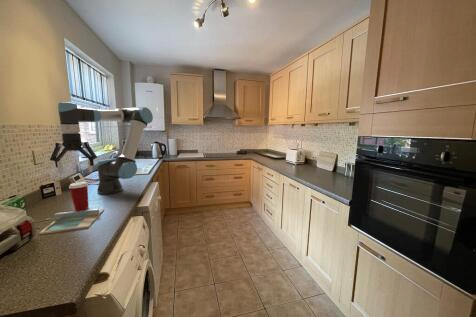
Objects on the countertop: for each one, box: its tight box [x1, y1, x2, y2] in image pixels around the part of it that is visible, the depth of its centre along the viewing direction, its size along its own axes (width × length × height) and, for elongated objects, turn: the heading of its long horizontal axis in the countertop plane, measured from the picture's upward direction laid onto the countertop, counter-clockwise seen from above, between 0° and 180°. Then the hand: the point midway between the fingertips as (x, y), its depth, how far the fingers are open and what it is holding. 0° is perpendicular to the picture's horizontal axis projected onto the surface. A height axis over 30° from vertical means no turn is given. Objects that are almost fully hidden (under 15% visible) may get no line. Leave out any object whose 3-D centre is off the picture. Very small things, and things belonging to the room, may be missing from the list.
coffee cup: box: [68, 181, 89, 211], centre depth 110 cm, size 8×8×15 cm
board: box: [38, 209, 105, 235], centre depth 97 cm, size 20×18×1 cm
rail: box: [54, 208, 100, 221], centre depth 100 cm, size 2×18×3 cm, turn 106°
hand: (76, 172), depth 108 cm, fingers open, 13 cm apart
